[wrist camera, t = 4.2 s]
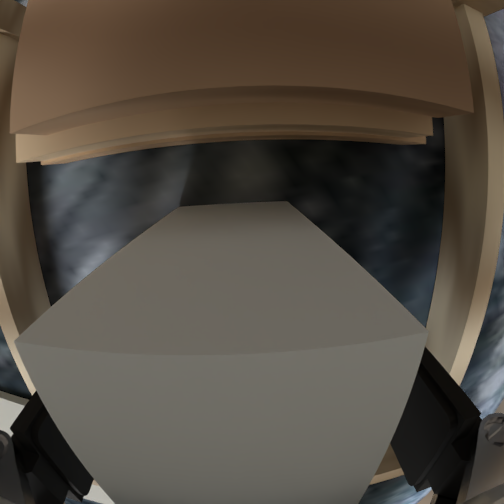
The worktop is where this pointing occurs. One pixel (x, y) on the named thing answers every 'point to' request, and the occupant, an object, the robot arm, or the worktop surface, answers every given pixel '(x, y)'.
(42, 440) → the robot arm
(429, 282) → the worktop surface
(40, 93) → the offcut stack
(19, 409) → the pad
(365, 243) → the worktop surface
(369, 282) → the panel
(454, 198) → the rack
